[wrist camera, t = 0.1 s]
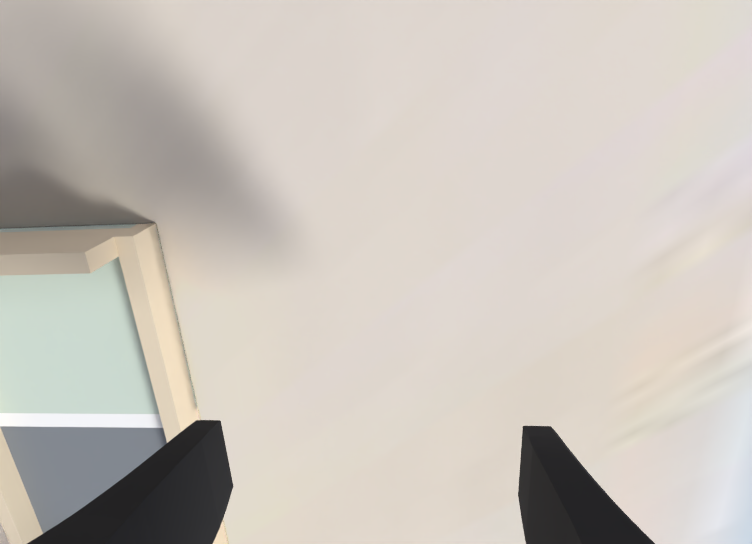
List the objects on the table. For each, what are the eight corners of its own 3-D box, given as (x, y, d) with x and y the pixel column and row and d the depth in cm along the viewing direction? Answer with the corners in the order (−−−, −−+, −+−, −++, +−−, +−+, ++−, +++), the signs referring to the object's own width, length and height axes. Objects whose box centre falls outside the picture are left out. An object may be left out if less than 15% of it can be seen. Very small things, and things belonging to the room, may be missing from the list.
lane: (244, 615, 30) (222, 683, 27) (70, 606, 31) (28, 671, 28) (156, 223, 21) (106, 251, 18) (-81, 231, 22) (-170, 260, 19)
